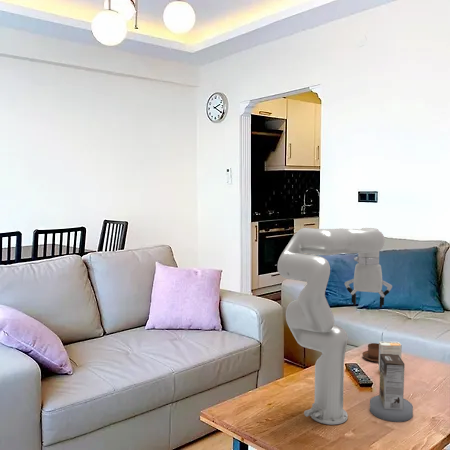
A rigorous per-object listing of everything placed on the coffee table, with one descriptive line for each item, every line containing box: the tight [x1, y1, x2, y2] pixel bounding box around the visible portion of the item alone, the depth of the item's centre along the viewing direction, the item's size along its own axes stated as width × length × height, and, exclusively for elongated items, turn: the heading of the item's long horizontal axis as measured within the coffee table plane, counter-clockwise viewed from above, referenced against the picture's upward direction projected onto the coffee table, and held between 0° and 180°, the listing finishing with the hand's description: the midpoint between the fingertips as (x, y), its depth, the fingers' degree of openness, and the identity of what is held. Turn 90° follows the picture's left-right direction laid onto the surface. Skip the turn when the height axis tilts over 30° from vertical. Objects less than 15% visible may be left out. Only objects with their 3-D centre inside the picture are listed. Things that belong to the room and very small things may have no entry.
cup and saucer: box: [361, 342, 379, 363], centre depth 220 cm, size 12×12×6 cm
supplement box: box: [378, 340, 402, 374], centre depth 202 cm, size 8×5×13 cm, turn 84°
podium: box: [369, 395, 414, 423], centre depth 169 cm, size 14×14×3 cm
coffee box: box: [378, 354, 406, 410], centre depth 168 cm, size 9×6×16 cm
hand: (367, 305), depth 185 cm, fingers open, 9 cm apart
